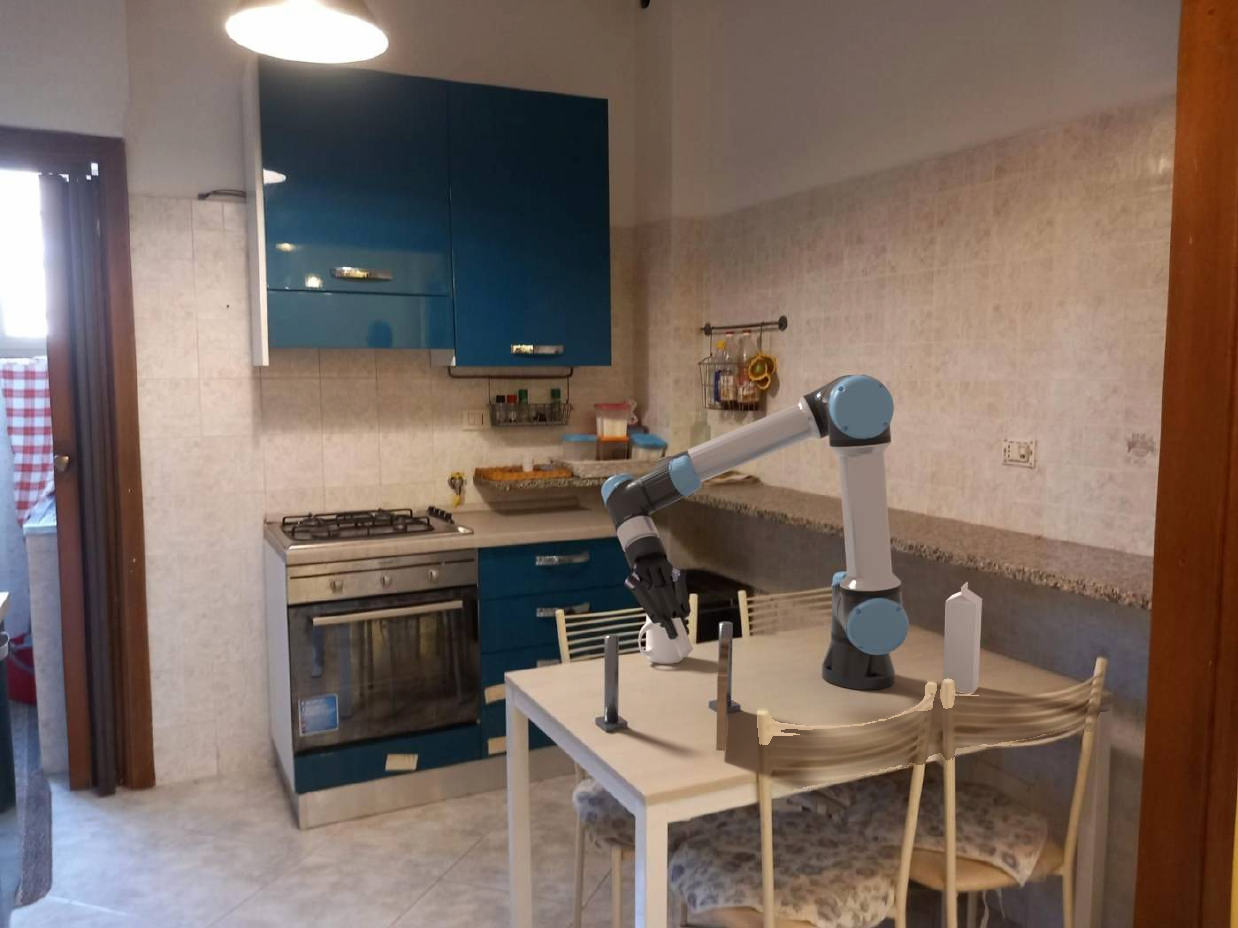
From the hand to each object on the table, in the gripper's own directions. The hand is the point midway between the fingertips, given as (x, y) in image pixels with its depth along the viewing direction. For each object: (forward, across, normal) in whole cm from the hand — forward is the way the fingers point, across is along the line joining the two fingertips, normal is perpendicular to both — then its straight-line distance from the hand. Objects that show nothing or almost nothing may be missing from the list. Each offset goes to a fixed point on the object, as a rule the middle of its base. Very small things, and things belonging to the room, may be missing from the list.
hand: (686, 652), depth 168 cm
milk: (+15, -63, -6) cm, 65 cm away
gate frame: (+5, -1, -16) cm, 17 cm away
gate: (+12, -5, -6) cm, 15 cm away
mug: (-16, -17, -38) cm, 45 cm away
